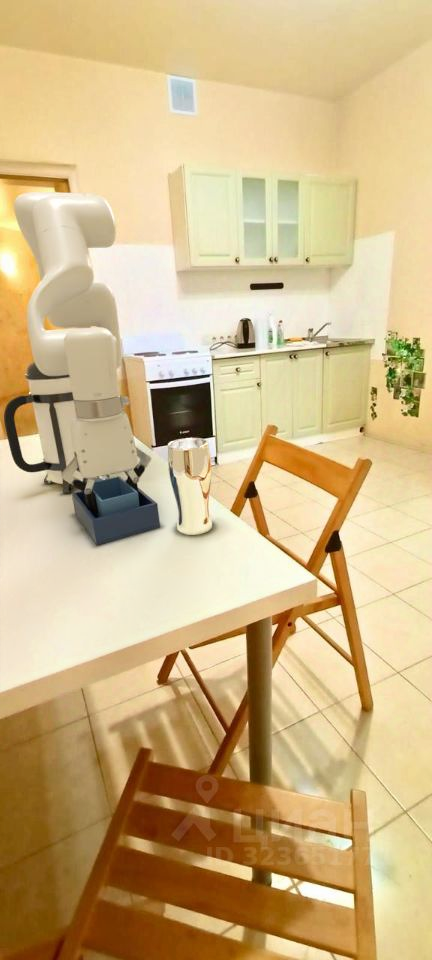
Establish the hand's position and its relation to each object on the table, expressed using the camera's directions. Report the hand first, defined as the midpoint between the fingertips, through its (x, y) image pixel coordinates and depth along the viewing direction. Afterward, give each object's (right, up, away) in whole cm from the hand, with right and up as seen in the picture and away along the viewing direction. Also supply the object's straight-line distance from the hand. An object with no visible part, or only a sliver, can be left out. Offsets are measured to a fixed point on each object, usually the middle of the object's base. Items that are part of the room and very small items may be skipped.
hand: (113, 506), depth 80 cm
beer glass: (+15, -4, -3) cm, 15 cm away
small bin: (0, -1, +1) cm, 1 cm away
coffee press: (-14, +4, +21) cm, 25 cm away
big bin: (0, -3, +1) cm, 3 cm away
